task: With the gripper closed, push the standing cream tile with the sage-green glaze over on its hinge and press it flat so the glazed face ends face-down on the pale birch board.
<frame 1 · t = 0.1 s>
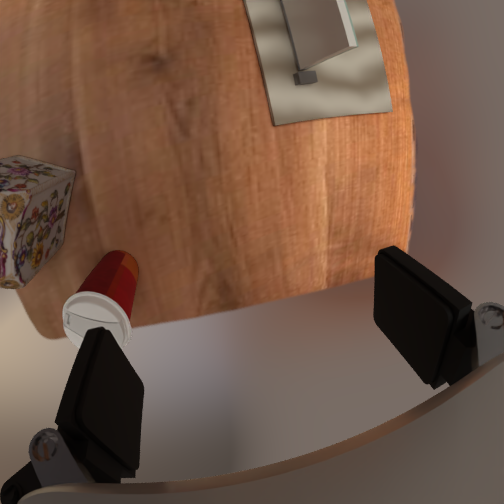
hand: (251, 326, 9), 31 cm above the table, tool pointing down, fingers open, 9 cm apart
tile board: (318, 33, 31), on the table
coffee cup: (120, 268, 40), on the table
glazed tile: (310, 14, 23), point 8 cm above the table, hinge at 0.0°
decorative jar: (39, 199, 33), on the table
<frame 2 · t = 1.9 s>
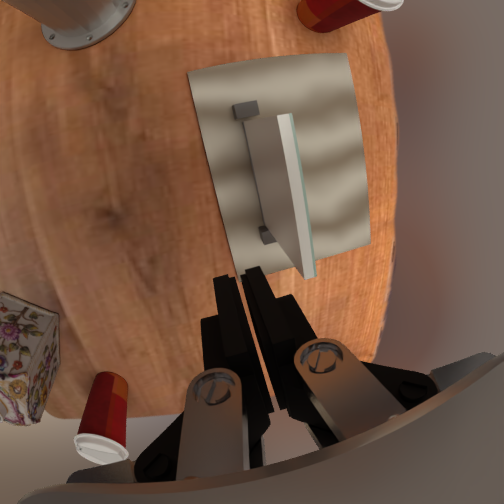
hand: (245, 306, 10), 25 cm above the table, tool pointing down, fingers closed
tile board: (291, 162, 34), on the table
coffee cup: (112, 382, 42), on the table
glazed tile: (273, 183, 26), point 8 cm above the table, hinge at 0.0°
paper cup: (316, 15, 26), on the table
decorative jar: (31, 328, 36), on the table
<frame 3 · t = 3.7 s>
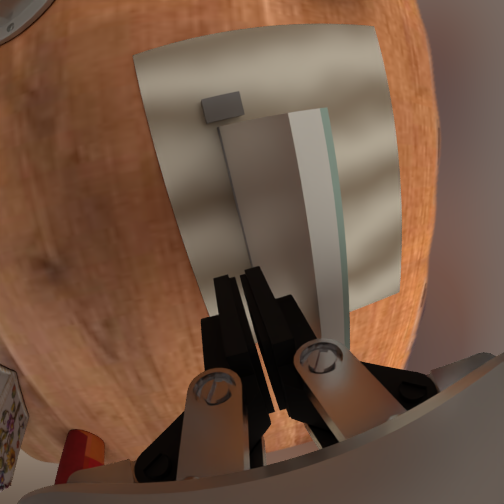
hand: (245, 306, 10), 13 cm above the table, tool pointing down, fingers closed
tile board: (296, 187, 23), on the table
coffee cup: (87, 438, 32), on the table
glazed tile: (271, 239, 15), point 8 cm above the table, hinge at -2.3°, touching gripper
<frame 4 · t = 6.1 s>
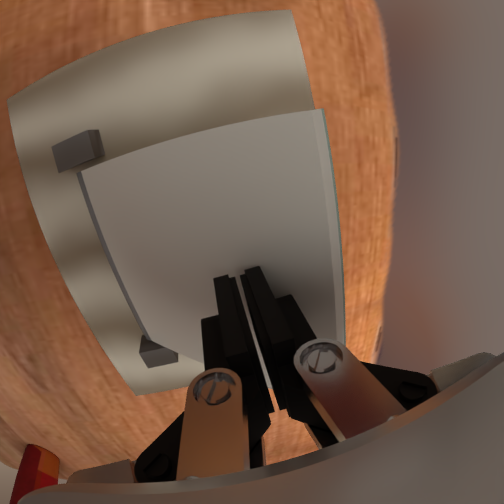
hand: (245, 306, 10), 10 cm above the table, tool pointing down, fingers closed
tile board: (186, 230, 19), on the table
coffee cup: (43, 453, 28), on the table
glazed tile: (188, 275, 13), point 6 cm above the table, hinge at -46.9°, touching gripper
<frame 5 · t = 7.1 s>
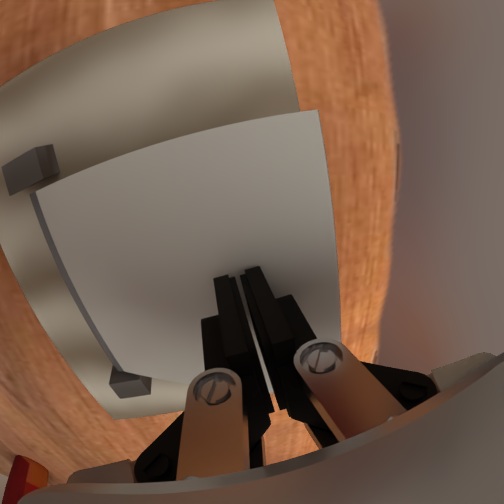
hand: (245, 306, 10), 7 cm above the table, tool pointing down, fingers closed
tile board: (153, 254, 16), on the table
coffee cup: (32, 464, 25), on the table
glazed tile: (169, 291, 12), point 5 cm above the table, hinge at -64.4°, touching gripper
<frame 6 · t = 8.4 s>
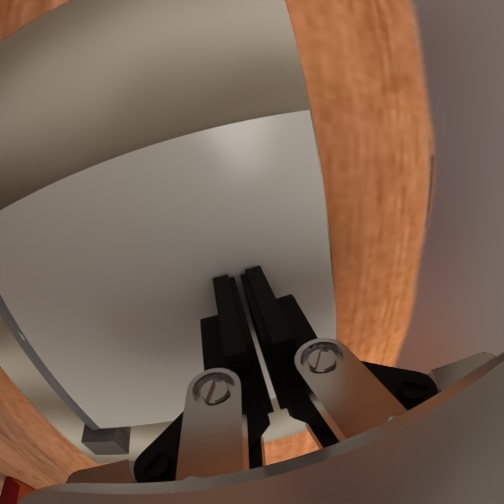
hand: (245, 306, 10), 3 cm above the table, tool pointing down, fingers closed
tile board: (118, 302, 12), on the table
coffee cup: (23, 485, 21), on the table
glazed tile: (150, 320, 11), point 2 cm above the table, hinge at -90.0°, touching gripper
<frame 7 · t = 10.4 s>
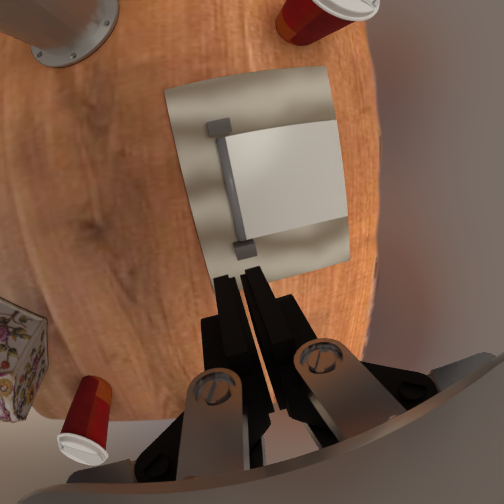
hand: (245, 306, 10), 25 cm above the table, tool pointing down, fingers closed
tile board: (267, 179, 34), on the table
coffee cup: (97, 386, 42), on the table
glazed tile: (287, 178, 33), point 2 cm above the table, hinge at -90.0°
paper cup: (296, 27, 28), on the table
decorative jar: (22, 331, 36), on the table
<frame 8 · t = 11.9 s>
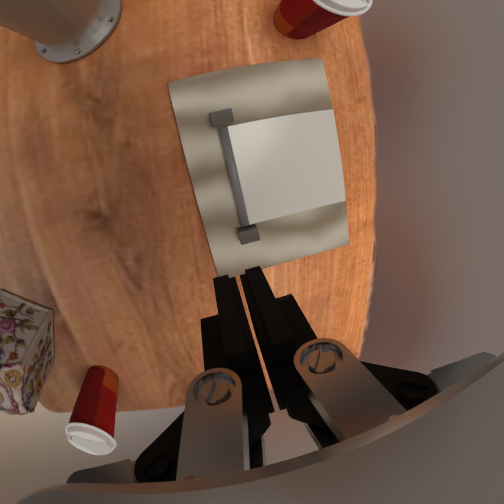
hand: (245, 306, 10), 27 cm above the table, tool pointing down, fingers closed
tile board: (267, 166, 35), on the table
coffee cup: (103, 376, 44), on the table
glazed tile: (287, 165, 34), point 2 cm above the table, hinge at -90.0°
paper cup: (293, 21, 28), on the table
decorative jar: (28, 324, 38), on the table
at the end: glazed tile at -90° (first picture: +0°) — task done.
